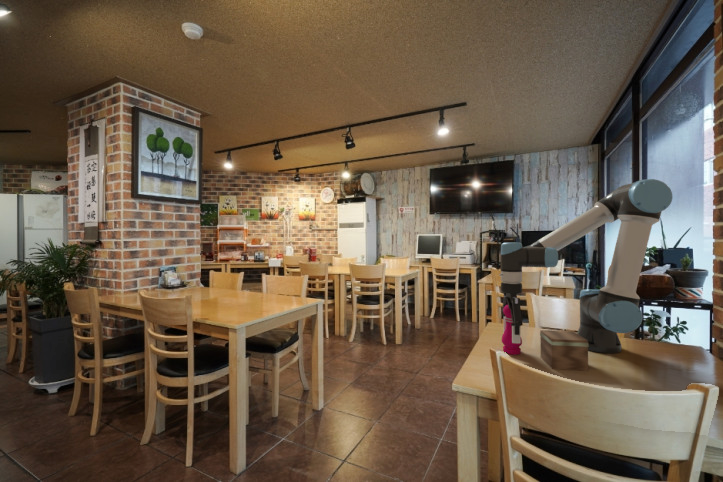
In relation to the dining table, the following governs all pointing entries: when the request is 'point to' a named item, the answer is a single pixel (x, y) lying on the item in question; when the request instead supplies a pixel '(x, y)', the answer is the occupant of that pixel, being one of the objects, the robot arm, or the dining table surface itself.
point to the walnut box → (564, 350)
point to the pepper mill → (509, 335)
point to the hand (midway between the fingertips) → (511, 337)
